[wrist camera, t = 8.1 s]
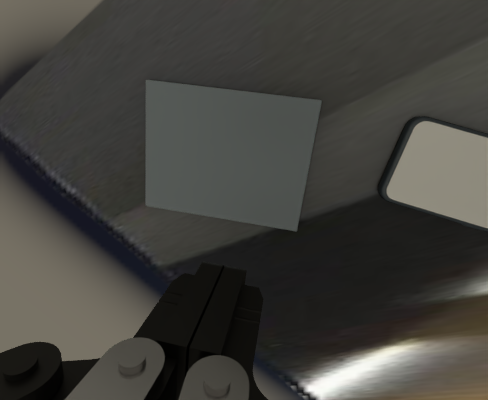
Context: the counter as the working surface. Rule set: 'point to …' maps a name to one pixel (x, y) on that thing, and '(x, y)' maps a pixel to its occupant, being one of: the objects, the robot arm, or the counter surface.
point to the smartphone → (440, 172)
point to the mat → (228, 152)
